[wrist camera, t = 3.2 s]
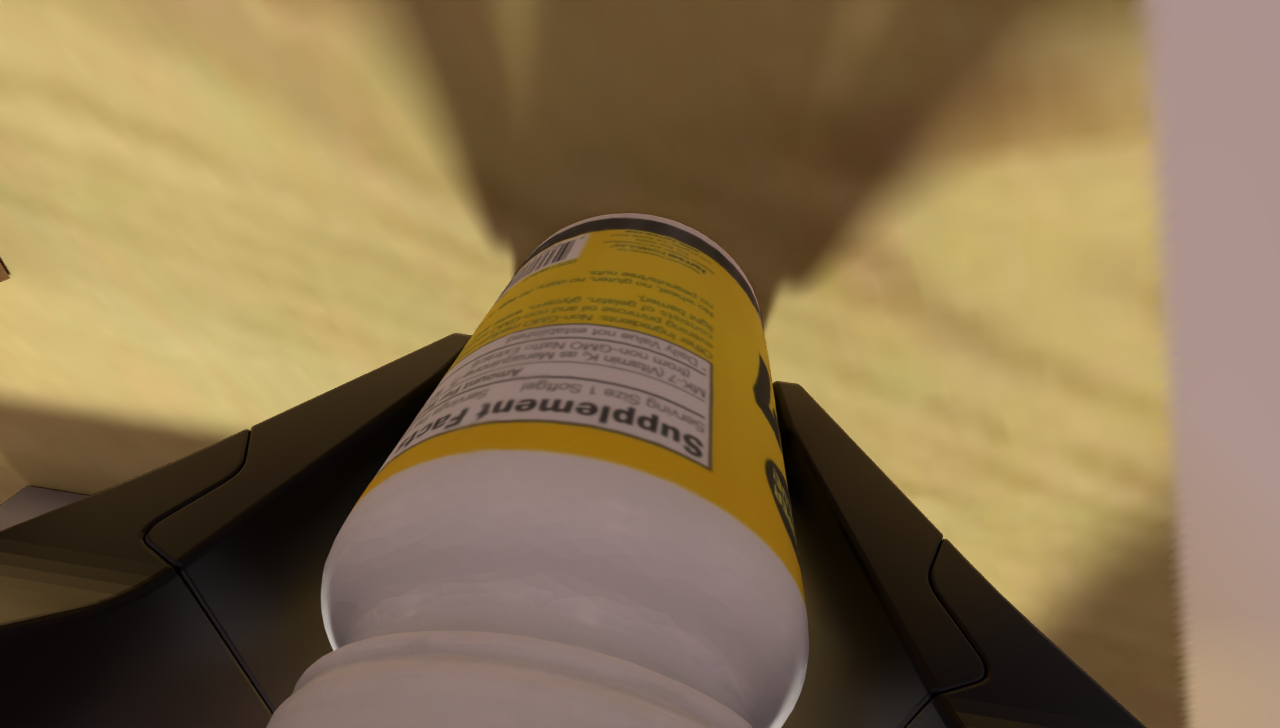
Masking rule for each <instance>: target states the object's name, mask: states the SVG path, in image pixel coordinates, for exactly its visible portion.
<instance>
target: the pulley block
mask: <svg viewBox="0 0 1280 728" xmlns="http://www.w3.org/2000/svg"><path fill="white" fill-rule="evenodd" d="M9 278H10V277H9V276H8V274H7V272H6V271H5V269H4V268H3V266H2V264H1V263H0V282H2V281H4V280H7V279H9Z"/></svg>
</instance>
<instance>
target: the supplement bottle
mask: <svg viewBox="0 0 1280 728" xmlns="http://www.w3.org/2000/svg"><path fill="white" fill-rule="evenodd" d="M321 610H322V616H323V622H324V627H325V630H326V633H327V636H328V639H329V642H330V644H331V646H332V649H333V651H332V652H330V653H328V654H326V655H324V656H322V657H321V658H320V659H319V660H317V661H316V662H315V663H313V664H312V665H311V666H310V667H309V668H308V669H307V670H306V671H305V672H304V673H303V675H302V676H301V677H300V679H299V680H298V682H297V684H296V686H295V688H294V690H293V693H292V695H291V696H290V697H289V698H287V699H286V700H285V701H284V702H283V703H282V704H281V705H280V706H279V707H278V708H277V710H276V711H275V712H274V713H273V715H272V717H271V719H270V721H269V723H268V725H267V727H266V728H781V727H782V726H783V724H784V723H785V721H786V720H787V718H788V716H789V715H790V713H791V712H792V710H793V709H794V706H795V704H796V702H797V700H798V697H799V695H800V693H801V690H802V687H803V683H804V680H805V675H806V670H807V664H808V656H809V630H808V616H807V609H806V602H805V595H804V588H803V581H802V575H801V570H800V564H799V556H798V549H797V542H796V535H795V529H794V522H793V516H792V507H791V501H790V496H789V492H788V486H787V480H786V473H785V467H784V460H783V453H782V446H781V440H780V434H779V427H778V418H777V412H776V405H775V398H774V391H773V384H772V378H771V371H770V364H769V358H768V353H767V346H766V340H765V335H764V329H763V323H762V318H761V313H760V309H759V305H758V302H757V299H756V296H755V294H754V291H753V288H752V287H751V285H750V283H749V281H748V279H747V277H746V276H745V274H744V273H743V271H742V270H741V268H740V267H739V266H738V265H737V263H736V262H735V261H734V260H733V258H732V257H731V256H730V255H729V254H728V253H727V252H726V251H725V250H723V249H722V248H721V247H720V246H719V245H718V244H716V243H715V242H714V241H712V240H711V239H709V238H708V237H707V236H705V235H704V234H702V233H700V232H698V231H697V230H695V229H693V228H691V227H689V226H686V225H684V224H682V223H679V222H677V221H674V220H670V219H667V218H663V217H659V216H654V215H648V214H638V213H619V214H607V215H600V216H596V217H592V218H587V219H585V220H582V221H579V222H576V223H573V224H571V225H569V226H567V227H565V228H563V229H561V230H559V231H558V232H556V233H555V234H553V235H552V236H550V237H549V238H548V239H546V240H545V241H544V242H542V243H541V244H540V245H539V246H538V247H537V248H536V249H535V250H534V251H533V252H532V253H531V254H530V255H529V257H528V258H527V259H526V260H525V261H524V263H523V264H522V266H521V267H520V268H519V269H518V271H517V272H516V273H515V275H514V276H513V278H512V280H511V281H510V283H509V284H508V285H507V287H506V288H505V290H504V291H503V292H502V293H501V295H500V296H499V298H498V299H497V301H496V302H495V304H494V305H493V307H492V308H491V309H490V311H489V312H488V314H487V315H486V316H485V318H484V319H483V321H482V322H481V324H480V325H479V326H478V328H477V330H476V331H475V333H474V334H473V335H472V337H471V338H470V340H469V341H468V342H467V344H466V345H465V347H464V348H463V350H462V351H461V353H460V355H459V356H458V358H457V359H456V360H455V362H454V363H453V365H452V366H451V367H450V369H449V370H448V372H447V373H446V375H445V376H444V377H443V379H442V380H441V382H440V383H439V385H438V386H437V388H436V389H435V391H434V392H433V393H432V395H431V396H430V398H429V399H428V401H427V402H426V403H425V405H424V406H423V408H422V409H421V411H420V412H419V414H418V415H417V416H416V418H415V419H414V421H413V422H412V424H411V425H410V427H409V428H408V430H407V431H406V432H405V434H404V435H403V437H402V438H401V440H400V441H399V443H398V444H397V446H396V447H395V448H394V450H393V451H392V453H391V454H390V456H389V457H388V458H387V460H386V461H385V463H384V464H383V466H382V467H381V468H380V470H379V471H378V473H377V474H376V476H375V477H374V479H373V480H372V481H371V483H370V484H369V485H368V487H367V488H366V490H365V491H364V493H363V494H362V495H361V497H360V498H359V500H358V501H357V503H356V504H355V506H354V508H353V509H352V511H351V512H350V514H349V516H348V517H347V519H346V521H345V522H344V524H343V526H342V527H341V529H340V531H339V533H338V535H337V537H336V538H335V540H334V543H333V545H332V548H331V550H330V553H329V555H328V557H327V560H326V562H325V565H324V571H323V576H322V586H321Z"/></svg>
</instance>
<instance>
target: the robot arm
mask: <svg viewBox="0 0 1280 728" xmlns="http://www.w3.org/2000/svg"><path fill="white" fill-rule="evenodd" d="M471 337H472V335H466V334H459V333H454V334H451V335H449V336H447V337H445V338H443V339H440V340H438V341H436V342H434V343H432V344H430V345H427V346H425V347H423V348H421V349H419V350H417V351H414V352H412V353H410V354H408V355H406V356H404V357H401V358H399V359H397V360H395V361H393V362H391V363H389V364H386V365H384V366H382V367H380V368H378V369H376V370H373V371H371V372H369V373H367V374H365V375H363V376H360V377H358V378H356V379H354V380H352V381H350V382H347V383H345V384H343V385H341V386H339V387H337V388H334V389H332V390H330V391H328V392H326V393H324V394H321V395H319V396H317V397H315V398H313V399H311V400H308V401H306V402H304V403H302V404H300V405H298V406H295V407H293V408H291V409H289V410H287V411H285V412H282V413H280V414H278V415H276V416H274V417H272V418H269V419H267V420H265V421H263V422H261V423H259V424H256V425H254V426H253V427H252V428H251V431H250V430H248V429H246V430H243V431H241V432H239V433H237V434H235V435H233V436H230V437H228V438H226V439H224V440H222V441H220V442H217V443H215V444H213V445H211V446H208V447H206V448H204V449H202V450H199V451H197V452H195V453H193V454H190V455H188V456H186V457H183V458H181V459H179V460H177V461H174V462H172V463H170V464H167V465H165V466H162V467H160V468H157V469H155V470H152V471H150V472H148V473H145V474H143V475H140V476H138V477H135V478H133V479H130V480H128V481H125V482H123V483H120V484H118V485H115V486H113V487H110V488H108V489H105V490H103V491H100V492H98V493H95V494H93V495H90V496H87V497H85V498H82V499H80V500H77V501H75V502H72V503H70V504H67V505H65V506H62V507H60V508H57V509H55V510H52V511H49V512H47V513H44V514H42V515H39V516H37V517H34V518H32V519H29V520H27V521H24V522H22V523H19V524H16V525H14V526H11V527H9V528H6V529H4V530H1V531H0V728H266V727H267V725H268V723H269V721H270V719H271V717H272V715H273V713H274V712H275V711H276V710H277V708H278V707H279V706H280V705H281V704H282V703H283V702H284V701H285V700H286V699H287V698H289V697H290V696H291V695H292V693H293V690H294V688H295V686H296V684H297V682H298V680H299V679H300V677H301V676H302V675H303V673H304V672H305V671H306V670H307V669H308V668H309V667H310V666H311V665H312V664H313V663H315V662H316V661H317V660H319V659H320V658H321V657H322V656H324V655H326V654H328V653H330V652H332V651H333V649H332V646H331V644H330V642H329V639H328V636H327V633H326V630H325V627H324V622H323V616H322V610H321V586H322V576H323V571H324V565H325V562H326V560H327V557H328V555H329V553H330V550H331V548H332V545H333V543H334V540H335V538H336V537H337V535H338V533H339V531H340V529H341V527H342V526H343V524H344V522H345V521H346V519H347V517H348V516H349V514H350V512H351V511H352V509H353V508H354V506H355V504H356V503H357V501H358V500H359V498H360V497H361V495H362V494H363V493H364V491H365V490H366V488H367V487H368V485H369V484H370V483H371V481H372V480H373V479H374V477H375V476H376V474H377V473H378V471H379V470H380V468H381V467H382V466H383V464H384V463H385V461H386V460H387V458H388V457H389V456H390V454H391V453H392V451H393V450H394V448H395V447H396V446H397V444H398V443H399V441H400V440H401V438H402V437H403V435H404V434H405V432H406V431H407V430H408V428H409V427H410V425H411V424H412V422H413V421H414V419H415V418H416V416H417V415H418V414H419V412H420V411H421V409H422V408H423V406H424V405H425V403H426V402H427V401H428V399H429V398H430V396H431V395H432V393H433V392H434V391H435V389H436V388H437V386H438V385H439V383H440V382H441V380H442V379H443V377H444V376H445V375H446V373H447V372H448V370H449V369H450V367H451V366H452V365H453V363H454V362H455V360H456V359H457V358H458V356H459V355H460V353H461V351H462V350H463V348H464V347H465V345H466V344H467V342H468V341H469V340H470V338H471ZM773 391H774V398H775V405H776V412H777V418H778V427H779V434H780V440H781V446H782V453H783V460H784V467H785V473H786V480H787V486H788V492H789V496H790V501H791V507H792V516H793V522H794V529H795V535H796V542H797V549H798V556H799V564H800V570H801V575H802V581H803V588H804V595H805V602H806V609H807V616H808V630H809V656H808V664H807V670H806V675H805V680H804V683H803V687H802V690H801V693H800V695H799V697H798V700H797V702H796V704H795V706H794V709H793V710H792V712H791V713H790V715H789V716H788V718H787V720H786V721H785V723H784V724H783V726H782V727H781V728H1146V727H1145V726H1144V725H1143V724H1142V723H1141V722H1139V721H1138V720H1137V719H1136V718H1135V717H1134V716H1133V715H1132V714H1131V713H1130V712H1129V711H1127V710H1126V709H1125V708H1124V707H1123V706H1122V705H1121V704H1120V703H1119V702H1118V701H1116V700H1115V699H1114V698H1113V697H1112V696H1111V695H1110V694H1109V693H1108V692H1107V691H1105V690H1104V689H1103V688H1102V687H1101V686H1100V685H1099V684H1098V683H1097V682H1096V681H1094V680H1093V679H1092V678H1091V677H1090V676H1089V675H1088V674H1087V673H1086V672H1085V671H1084V670H1082V669H1081V668H1080V667H1079V666H1078V665H1077V664H1076V663H1075V662H1074V661H1073V660H1071V659H1070V658H1069V657H1068V656H1067V655H1066V654H1065V653H1064V652H1063V651H1062V650H1060V649H1059V648H1058V647H1057V646H1056V645H1055V644H1054V643H1053V642H1052V641H1051V640H1049V639H1048V638H1047V637H1046V636H1045V635H1044V634H1043V633H1042V632H1041V631H1040V630H1039V629H1038V628H1036V627H1035V626H1034V625H1033V624H1032V623H1031V622H1030V621H1029V620H1028V619H1027V618H1026V617H1025V616H1024V615H1023V614H1022V613H1021V612H1019V611H1018V610H1017V609H1016V608H1015V607H1014V606H1013V605H1012V604H1011V603H1010V602H1009V601H1008V600H1007V599H1006V598H1005V597H1004V596H1002V595H1001V594H1000V593H999V592H998V591H997V590H996V589H995V588H994V587H993V586H992V585H991V584H990V583H989V582H988V581H987V580H986V579H985V578H984V576H983V575H982V574H981V573H980V572H979V571H978V570H977V569H976V568H975V567H974V566H973V565H972V564H971V563H970V562H969V561H968V560H967V559H966V558H965V557H964V556H963V555H962V554H961V553H960V552H959V551H958V550H957V549H956V548H955V547H954V546H953V545H952V544H951V543H950V541H949V540H947V539H943V535H942V533H941V532H940V531H939V530H938V529H937V528H936V527H935V526H934V525H933V524H932V523H931V522H930V521H929V520H928V519H927V518H926V517H925V515H924V514H923V513H922V512H921V511H920V510H919V509H918V508H917V507H916V506H915V505H914V504H913V503H912V502H911V501H910V500H909V499H908V498H907V497H906V496H905V494H904V493H903V492H902V491H901V490H900V489H899V488H898V487H897V486H896V485H895V484H894V483H893V482H892V481H891V480H890V479H889V478H888V477H887V476H886V475H885V473H884V472H883V471H882V470H881V469H880V468H879V467H878V466H877V465H876V464H875V463H874V462H873V461H872V460H871V459H870V458H869V457H868V456H867V455H866V454H865V452H864V451H863V450H862V449H861V448H860V447H859V446H858V445H857V444H856V443H855V442H854V441H853V440H852V439H851V438H850V437H849V436H848V435H847V434H846V433H845V431H844V430H843V429H842V428H841V427H840V426H839V425H838V424H837V423H836V422H835V421H834V420H833V419H832V418H831V417H830V416H829V415H828V414H827V413H826V412H825V410H824V409H823V408H822V407H821V406H820V405H819V404H818V403H817V402H816V401H815V400H814V399H813V398H812V397H811V396H810V395H809V394H808V393H807V392H806V391H805V389H804V388H803V387H802V386H800V385H799V384H795V383H788V382H781V381H776V382H774V383H773ZM942 539H943V540H942Z"/></svg>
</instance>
